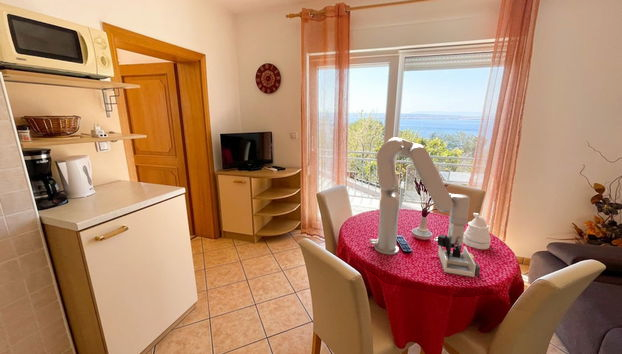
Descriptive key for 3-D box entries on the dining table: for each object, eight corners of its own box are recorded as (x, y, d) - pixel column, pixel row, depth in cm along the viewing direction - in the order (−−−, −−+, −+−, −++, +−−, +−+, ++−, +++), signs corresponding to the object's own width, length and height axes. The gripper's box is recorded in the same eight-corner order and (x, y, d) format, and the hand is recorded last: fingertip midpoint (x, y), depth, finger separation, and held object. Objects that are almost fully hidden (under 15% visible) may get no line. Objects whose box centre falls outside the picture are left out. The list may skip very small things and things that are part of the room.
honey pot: (463, 246, 139) (467, 215, 135) (462, 237, 150) (465, 209, 146) (491, 251, 133) (496, 220, 129) (487, 241, 144) (492, 212, 140)
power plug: (448, 261, 122) (447, 239, 120) (432, 257, 128) (431, 235, 126) (452, 257, 126) (452, 235, 124) (437, 252, 132) (436, 231, 130)
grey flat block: (475, 275, 112) (477, 267, 111) (472, 269, 116) (473, 261, 116) (478, 275, 111) (480, 267, 111) (475, 269, 116) (476, 262, 115)
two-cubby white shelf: (444, 272, 114) (446, 260, 113) (438, 253, 130) (439, 243, 129) (473, 277, 110) (475, 264, 109) (463, 257, 127) (465, 246, 125)
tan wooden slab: (470, 265, 120) (471, 257, 119) (467, 260, 124) (468, 252, 124) (473, 265, 119) (474, 258, 119) (470, 260, 124) (471, 253, 123)
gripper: (446, 213, 129) (442, 243, 133) (453, 225, 113) (448, 259, 117) (462, 214, 127) (458, 245, 130) (472, 227, 111) (467, 262, 114)
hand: (453, 252), depth 123 cm, fingers open, 9 cm apart
